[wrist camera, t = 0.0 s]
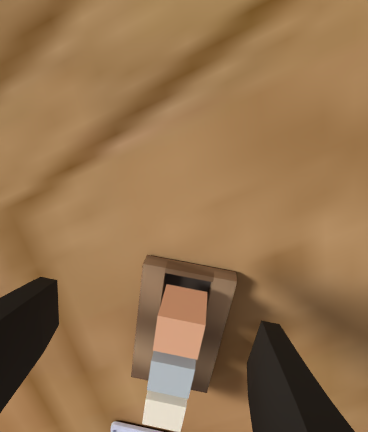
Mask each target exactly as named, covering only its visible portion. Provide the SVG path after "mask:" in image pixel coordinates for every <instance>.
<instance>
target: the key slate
mask: <svg viewBox="0 0 368 432" xmlns="http://www.w3.org/2000/svg"><path fill="white" fill-rule="evenodd" d="M195 365H196V359H191V358H186V357H181V356H177V355H172V354H167V353H162V352H157V351H154V352H153V356H152V360H151V366H150V373H149V380H148V387H147V390H149V391H153V392H158V393H163V394H167V395H172V396H177V397H181V398H186V399H188V398H189V393H190V389H191V385H192V381H193V377H194V372H195Z"/></svg>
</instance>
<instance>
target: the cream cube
mask: <svg viewBox="0 0 368 432" xmlns="http://www.w3.org/2000/svg"><path fill="white" fill-rule="evenodd" d="M186 404H187V399H186V398H181V397H177V396H172V395H167V394H163V393H158V392H153V391H149V390H148V392H147V396H146V401H145V408H144V415H143V422H142V424H145V425H149V426H154V427H158V428H163V429H167V430H172V431H176V432H181V427H182V423H183V419H184V415H185V410H186Z"/></svg>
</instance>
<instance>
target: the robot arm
mask: <svg viewBox="0 0 368 432" xmlns="http://www.w3.org/2000/svg"><path fill="white" fill-rule="evenodd" d="M58 325H59V313H58V289H57V280H54V279H49V278H44V277H39V278H37V279H35V280H33V281H31V282H29V283H27V284H25V285H24V286H22V287H20V288H18V289H16V290H14V291H12V292H10V293H8V294H7V295H5V296H3V297H1V298H0V413H1V411H2V410H3V408H4V407H5V406H6V404H7V403H8V402H9V400H10V399H11V397H12V396H13V395H14V393H15V392H16V390H17V389H18V388H19V386H20V385H21V383H22V382H23V381H24V379H25V378H26V376H27V375H28V374H29V372H30V371H31V369H32V368H33V367H34V365H35V364H36V362H37V361H38V359H39V358H40V357H41V355H42V354H43V352H44V351H45V349H46V347H47V345H48V344H49V342H50V340H51V338H52V336H53V335H54V333H55V331H56V329H57V327H58ZM247 383H248V400H249V407H250V415H251V422H252V429H253V432H355V431H354V430H353V429H352V428H351V426H350V425H349V424H348V422H347V421H346V420H345V419H344V417H343V416H342V415H341V413H340V412H339V411H338V409H337V408H336V407H335V405H334V404H333V403H332V401H331V400H330V399H329V397H328V396H327V395H326V393H325V392H324V390H323V389H322V387H321V386H320V385H319V383H318V382H317V380H316V379H315V377H314V376H313V374H312V373H311V372H310V370H309V369H308V367H307V366H306V364H305V363H304V361H303V360H302V358H301V357H300V355H299V354H298V352H297V351H296V349H295V347H294V346H293V344H292V343H291V341H290V340H289V338H288V337H287V335H286V334H285V332H284V331H283V329H282V327H281V326H280V324H275V323H270V322H265V321H261V323H260V326H259V329H258V332H257V335H256V338H255V341H254V344H253V347H252V350H251V353H250V356H249V359H248V362H247ZM111 432H162V431H158V430H153V429H149V428H144V427H140V426H135V425H131V424H126V423H122V422H117V421H114V422H113V423H112V425H111Z"/></svg>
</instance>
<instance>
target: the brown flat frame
mask: <svg viewBox="0 0 368 432" xmlns="http://www.w3.org/2000/svg"><path fill="white" fill-rule="evenodd" d="M167 284H168V285H174V286H179V287H184V288H189V289H194V290H199V291H204V292H207V310H206V326H205V330H204V334H203V339H202V343H201V347H200V351H199V355H198V360H196V365H195V372H194V377H193V381H192V385H191V389H190V390H195V391H200V392H204V393H207V390H208V387H209V383H210V379H211V376H212V372H213V368H214V365H215V361H216V357H217V354H218V350H219V346H220V343H221V339H222V335H223V332H224V328H225V325H226V321H227V317H228V314H229V310H230V306H231V303H232V299H233V295H234V292H235V288H236V284H237V276H236V272H233V271H228V270H223V269H218V268H213V267H207V266H202V265H197V264H192V263H186V262H181V261H176V260H171V259H165V258H160V257H155V256H150V255H147V256H146V259H145V261H144V263H143V269H142V279H141V288H140V298H139V307H138V317H137V326H136V335H135V345H134V354H133V364H132V373H131V377H134V378H139V379H144V380H149V373H150V366H151V360H152V356H153V352H154V351H153V345H154V338H155V331H156V324H157V317H158V313H159V309H160V306H161V302H162V299H163V295H164V292H165V288H166V285H167Z"/></svg>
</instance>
